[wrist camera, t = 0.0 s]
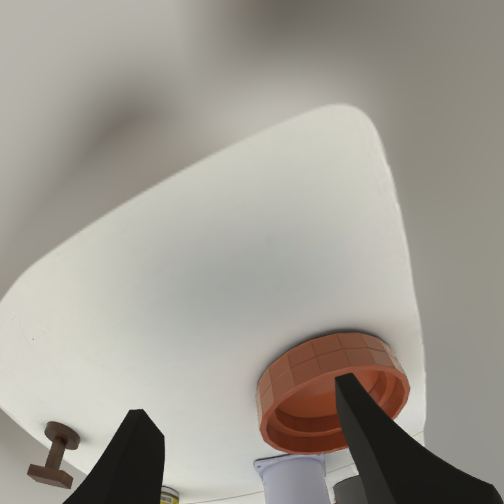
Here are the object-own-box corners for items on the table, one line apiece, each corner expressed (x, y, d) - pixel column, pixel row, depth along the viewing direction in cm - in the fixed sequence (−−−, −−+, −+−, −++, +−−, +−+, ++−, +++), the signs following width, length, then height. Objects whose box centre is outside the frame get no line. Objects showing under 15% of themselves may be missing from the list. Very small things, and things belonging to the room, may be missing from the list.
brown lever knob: (90, 443, 28) (77, 494, 21) (57, 440, 28) (43, 486, 22) (69, 422, 26) (52, 476, 19) (37, 420, 26) (19, 468, 20)
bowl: (385, 400, 27) (399, 430, 23) (269, 431, 27) (274, 464, 24) (396, 310, 22) (419, 344, 18) (240, 349, 22) (243, 391, 19)
